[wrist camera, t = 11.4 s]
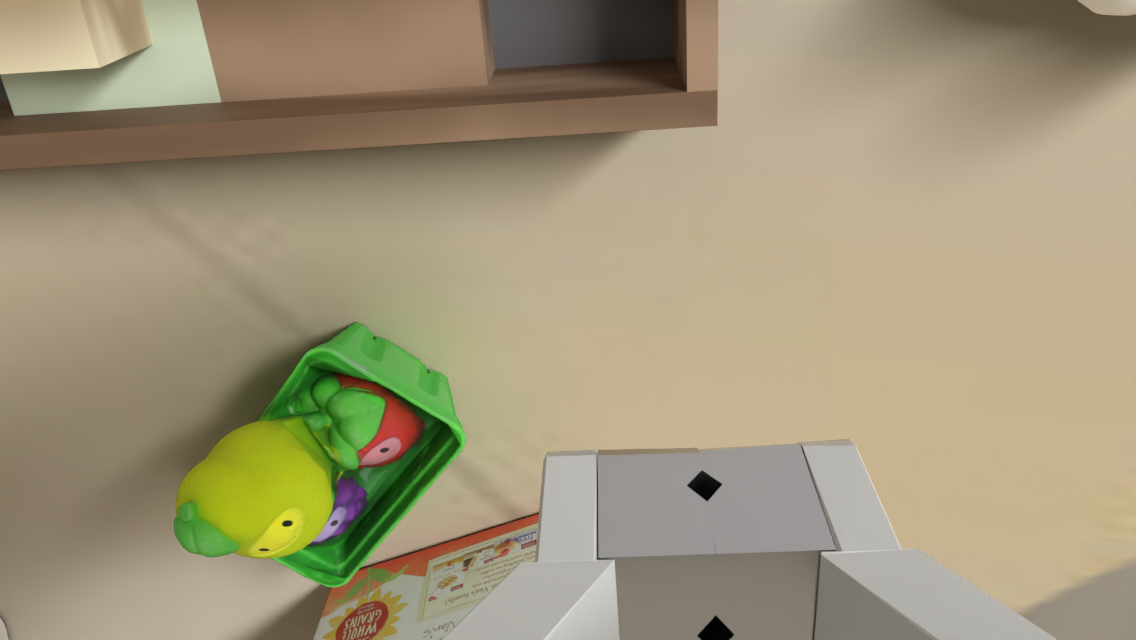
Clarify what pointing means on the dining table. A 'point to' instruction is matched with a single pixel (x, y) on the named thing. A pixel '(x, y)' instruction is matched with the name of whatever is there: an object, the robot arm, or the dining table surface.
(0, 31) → the maple block
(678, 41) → the trap lane
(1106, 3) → the white rounded piece
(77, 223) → the dining table surface
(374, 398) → the fruit basket
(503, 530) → the cracker box
